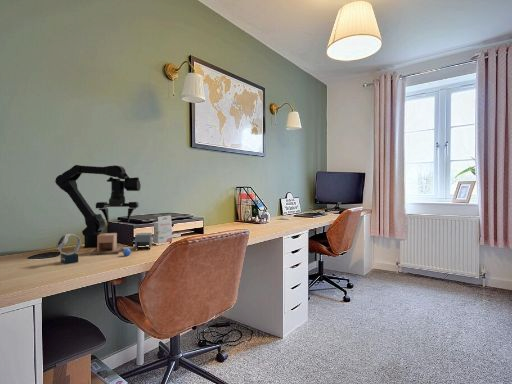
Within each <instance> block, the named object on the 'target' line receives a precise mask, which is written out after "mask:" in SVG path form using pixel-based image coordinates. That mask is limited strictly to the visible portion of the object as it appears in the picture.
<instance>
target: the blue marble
mask: <svg viewBox="0 0 512 384" xmlns="http://www.w3.org/2000/svg"><path fill="white" fill-rule="evenodd" d="M122 250H123V251H122V254H123V255H124V256H125V257H127V256H130V255H131V254H132V250H131V249H130V248H128V247H127V248H123V249H122Z"/></svg>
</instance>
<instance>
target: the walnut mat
mask: <svg viewBox="0 0 512 384" xmlns="http://www.w3.org/2000/svg"><path fill="white" fill-rule="evenodd" d="M122 250H124V247H123V246H117V248H116V249H115V250H114V251H112V248H107V249H101V250H100V251H99V252H97V248H95V249H94V250H92V251H91V252H90V253H89V255H90V256H102V255H104V256H105V255H119V254H120V253H121V252H122Z"/></svg>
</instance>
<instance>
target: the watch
mask: <svg viewBox="0 0 512 384" xmlns="http://www.w3.org/2000/svg"><path fill="white" fill-rule="evenodd" d="M70 236H75V237H76V238H77V243H76V245H75V246H74V248H73V251H70V252H66V253H65V252H63V251H62V250H63V248H64V247H65V245H66V244H67V242H68V240H69V238H70ZM81 245H82V239H81V238H80V236H78V235H76V234H74V233H67V234H64V235H62V236H61V237H60V238H59V239H58V241H57V243H56V248H57V250H58V252H60V262H61V263H62V264H64V265H69V264H75V263H79V254H78V253H77V252H78V251H79V249H80V248H81Z"/></svg>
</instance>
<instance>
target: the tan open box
mask: <svg viewBox="0 0 512 384" xmlns="http://www.w3.org/2000/svg"><path fill="white" fill-rule="evenodd" d="M117 237H118V233H117V232H110V233H109V232H106V233H105V232H104V233H102V232H101V233H100V235H98V236H97V247H96V249H97V252H99V251H100V250H101V249H107V248H112V251H114V250H115V249H116V248H117V247H118V238H117Z"/></svg>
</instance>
